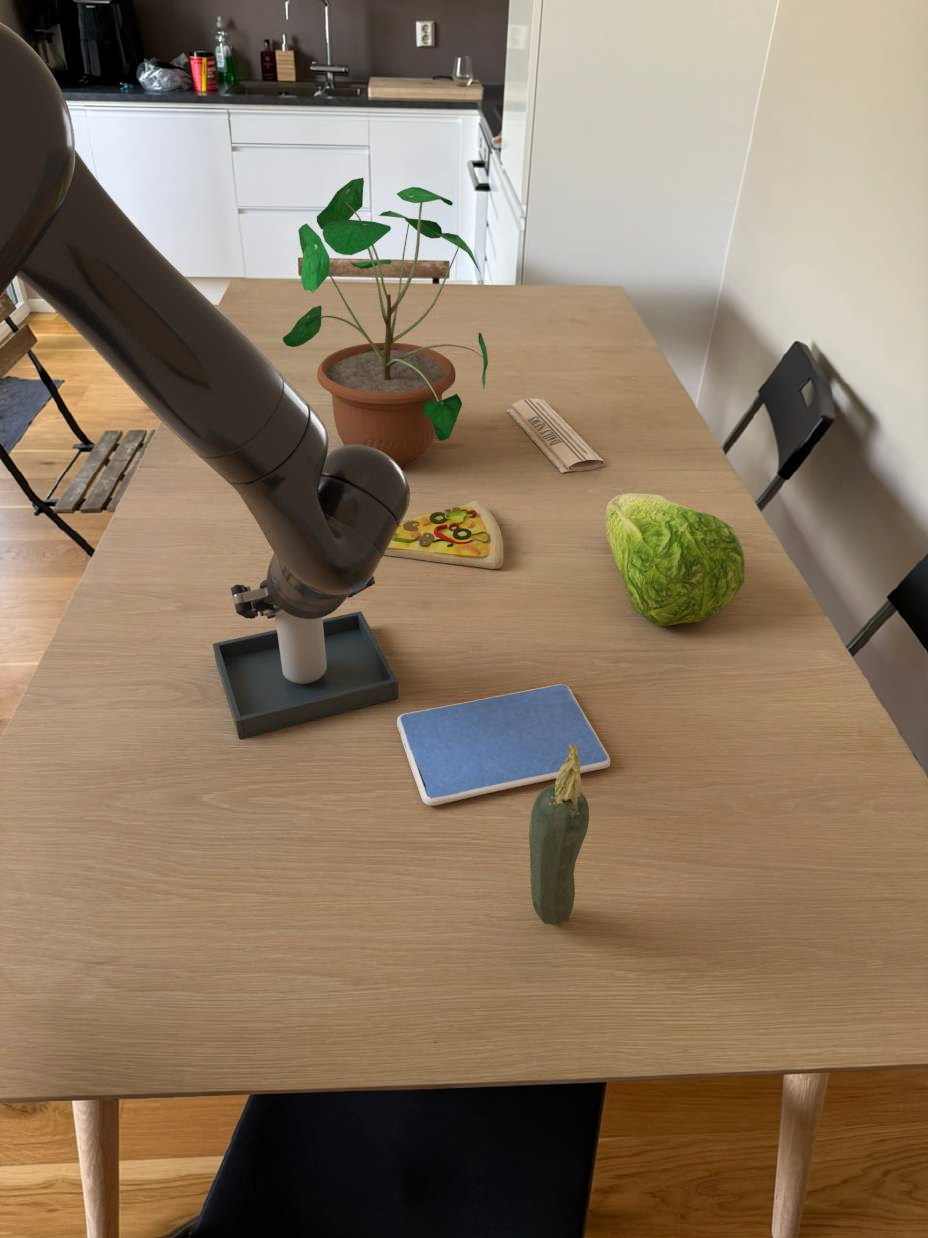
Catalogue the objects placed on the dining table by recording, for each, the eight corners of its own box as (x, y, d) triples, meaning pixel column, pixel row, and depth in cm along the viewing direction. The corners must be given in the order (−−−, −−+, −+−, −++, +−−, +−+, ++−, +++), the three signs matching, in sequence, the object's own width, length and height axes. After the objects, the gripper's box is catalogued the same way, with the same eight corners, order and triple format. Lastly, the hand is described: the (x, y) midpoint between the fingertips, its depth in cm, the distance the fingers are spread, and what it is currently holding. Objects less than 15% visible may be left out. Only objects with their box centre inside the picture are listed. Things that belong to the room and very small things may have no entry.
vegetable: (555, 954, 72) (582, 789, 60) (509, 929, 74) (526, 763, 62) (579, 914, 75) (609, 749, 63) (534, 891, 77) (554, 726, 65)
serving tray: (239, 739, 91) (235, 721, 89) (215, 660, 100) (212, 643, 99) (398, 698, 96) (398, 681, 95) (362, 627, 106) (361, 610, 104)
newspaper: (603, 467, 139) (604, 457, 138) (561, 473, 137) (562, 463, 136) (543, 406, 157) (544, 396, 155) (506, 410, 155) (506, 401, 154)
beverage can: (336, 669, 98) (328, 579, 91) (306, 693, 95) (296, 602, 87) (303, 652, 100) (293, 564, 93) (273, 675, 97) (260, 585, 89)
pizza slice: (512, 569, 116) (514, 550, 114) (354, 583, 113) (352, 564, 111) (487, 509, 128) (488, 491, 126) (343, 520, 125) (342, 501, 123)
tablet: (424, 811, 84) (424, 802, 83) (394, 721, 93) (394, 711, 92) (612, 771, 89) (614, 762, 88) (565, 689, 98) (566, 680, 97)
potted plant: (518, 473, 137) (538, 195, 113) (336, 506, 128) (316, 211, 103) (445, 395, 159) (449, 149, 135) (286, 418, 150) (259, 158, 126)
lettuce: (569, 555, 124) (665, 554, 127) (634, 640, 103) (747, 636, 106) (583, 458, 118) (684, 459, 121) (656, 527, 97) (775, 526, 100)
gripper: (382, 513, 80) (350, 556, 96) (222, 543, 76) (216, 583, 92) (402, 593, 80) (367, 622, 96) (242, 628, 75) (233, 653, 91)
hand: (293, 603), depth 94 cm, fingers closed on beverage can, 5 cm apart
